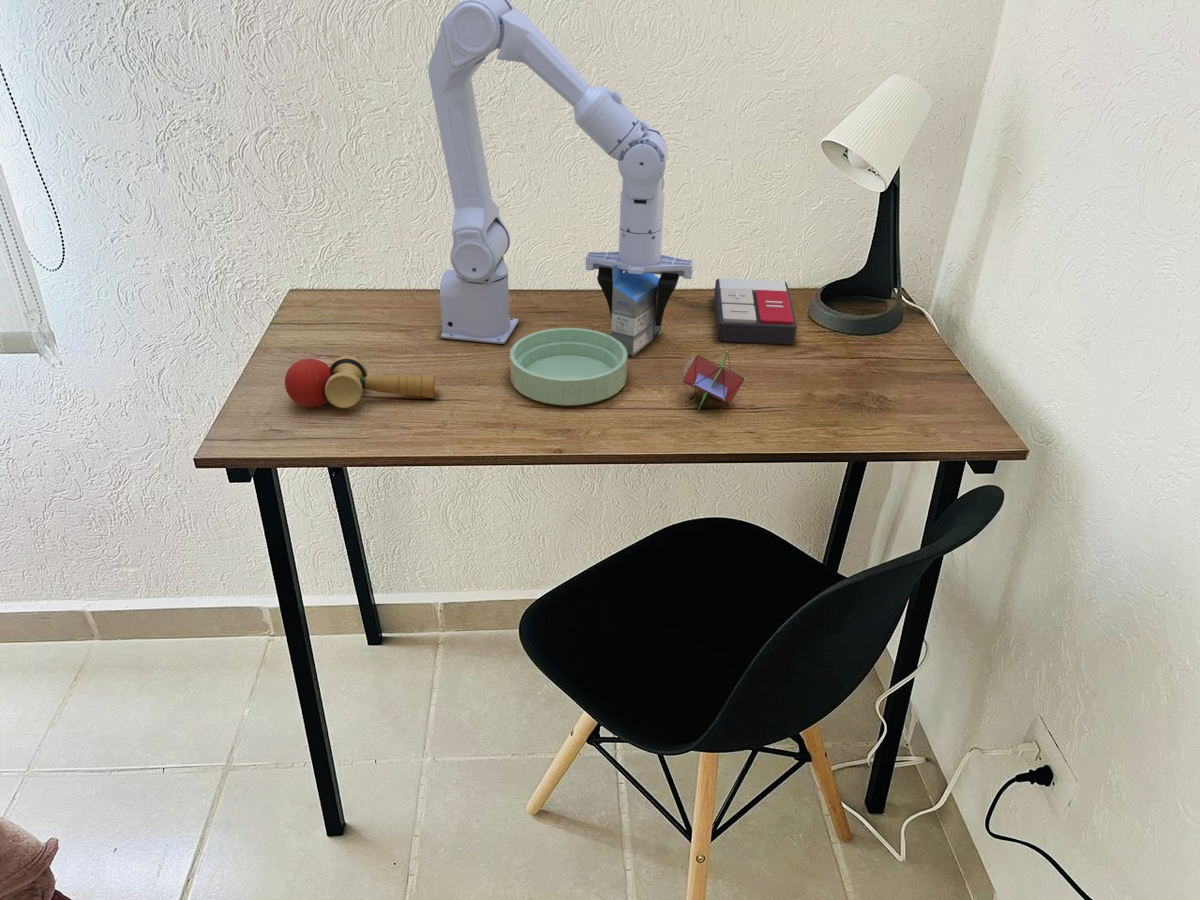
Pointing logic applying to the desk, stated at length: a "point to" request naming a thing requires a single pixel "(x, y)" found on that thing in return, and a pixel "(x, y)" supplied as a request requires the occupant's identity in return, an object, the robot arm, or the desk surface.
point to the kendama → (347, 382)
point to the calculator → (754, 311)
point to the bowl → (568, 366)
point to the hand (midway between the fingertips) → (636, 321)
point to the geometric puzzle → (712, 379)
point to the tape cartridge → (634, 309)
